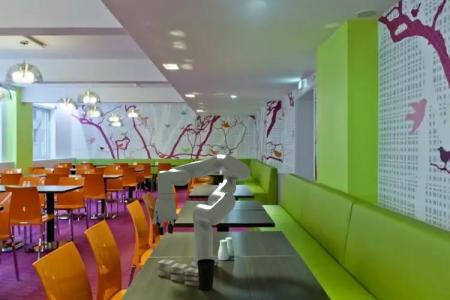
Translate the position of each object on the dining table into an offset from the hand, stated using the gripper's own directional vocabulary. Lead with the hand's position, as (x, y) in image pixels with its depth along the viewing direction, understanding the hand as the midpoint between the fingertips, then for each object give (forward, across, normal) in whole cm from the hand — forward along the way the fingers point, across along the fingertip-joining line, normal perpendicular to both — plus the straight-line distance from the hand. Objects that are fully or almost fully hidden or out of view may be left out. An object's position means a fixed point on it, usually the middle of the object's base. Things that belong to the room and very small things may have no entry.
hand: (165, 233), depth 204 cm
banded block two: (+19, -2, +20) cm, 28 cm away
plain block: (+19, 0, 0) cm, 19 cm away
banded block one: (+19, -1, +10) cm, 22 cm away
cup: (+20, -2, +29) cm, 35 cm away
